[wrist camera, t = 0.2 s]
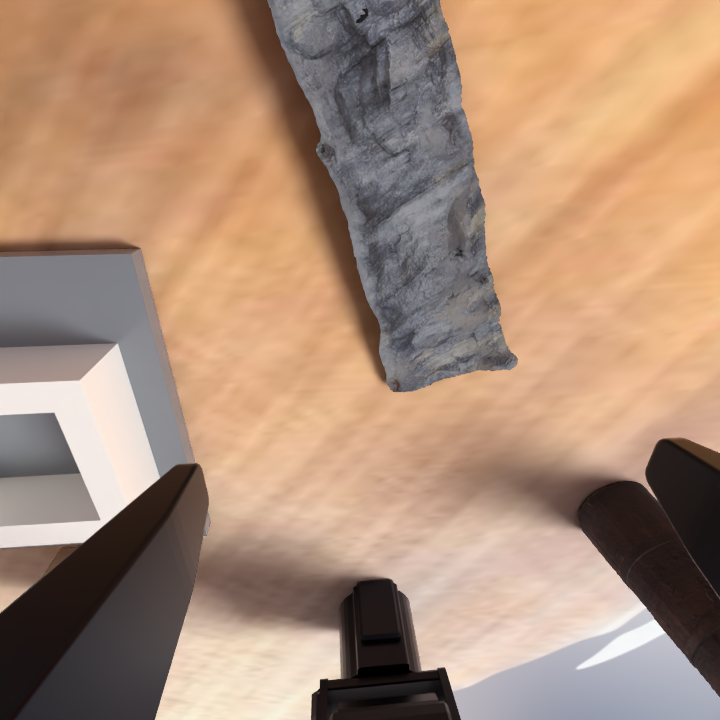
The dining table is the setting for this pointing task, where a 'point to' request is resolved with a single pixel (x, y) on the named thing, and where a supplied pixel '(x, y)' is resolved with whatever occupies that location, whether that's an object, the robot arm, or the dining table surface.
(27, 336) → the square frame on plate
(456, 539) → the dining table surface
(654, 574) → the butter churn
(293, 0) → the grey flat stone bar
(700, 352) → the dining table surface
